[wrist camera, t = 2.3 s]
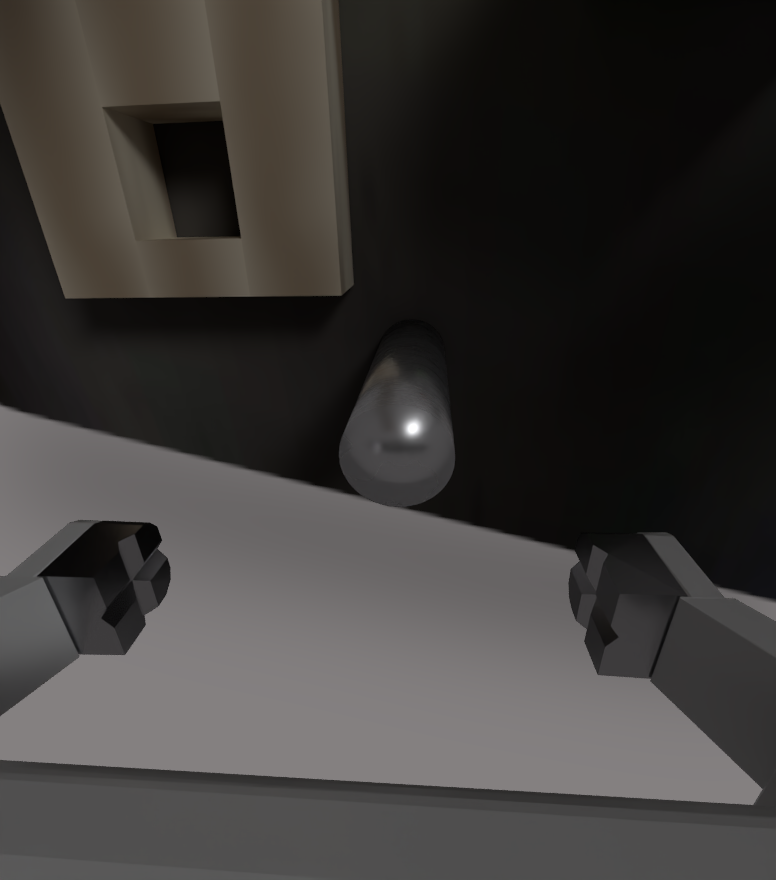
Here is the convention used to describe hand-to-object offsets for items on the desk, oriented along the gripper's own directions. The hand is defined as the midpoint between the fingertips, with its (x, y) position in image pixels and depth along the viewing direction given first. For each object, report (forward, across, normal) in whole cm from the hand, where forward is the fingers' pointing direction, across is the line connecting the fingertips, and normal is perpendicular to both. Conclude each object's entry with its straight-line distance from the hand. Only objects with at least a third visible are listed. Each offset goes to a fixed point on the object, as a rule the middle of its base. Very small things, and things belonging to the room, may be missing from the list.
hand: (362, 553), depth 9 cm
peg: (+13, -1, 0) cm, 13 cm away
